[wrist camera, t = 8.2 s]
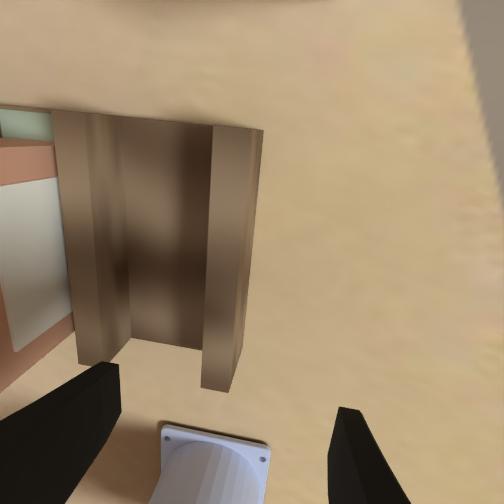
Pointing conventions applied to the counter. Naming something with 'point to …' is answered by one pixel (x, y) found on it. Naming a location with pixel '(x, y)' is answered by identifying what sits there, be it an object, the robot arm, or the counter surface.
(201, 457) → the robot arm
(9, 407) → the counter surface
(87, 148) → the rack
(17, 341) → the pink rectangular block
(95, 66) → the counter surface
